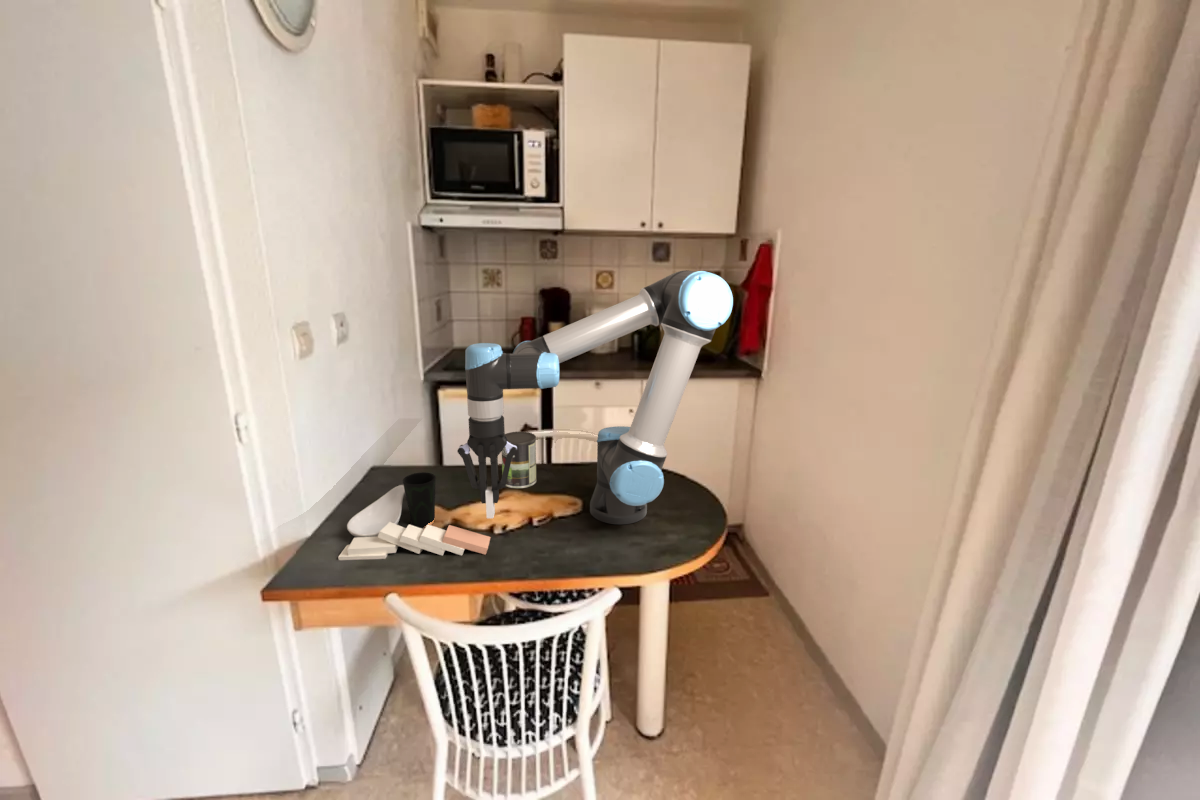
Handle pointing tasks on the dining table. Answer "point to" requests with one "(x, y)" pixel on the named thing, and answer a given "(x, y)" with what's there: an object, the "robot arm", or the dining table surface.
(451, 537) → the tile
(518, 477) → the coffee can
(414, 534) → the tile
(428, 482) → the cup
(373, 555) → the cream flat rectangular block
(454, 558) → the dining table surface
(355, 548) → the tile
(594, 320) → the robot arm
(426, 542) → the tile
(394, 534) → the tile
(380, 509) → the spoon rest
